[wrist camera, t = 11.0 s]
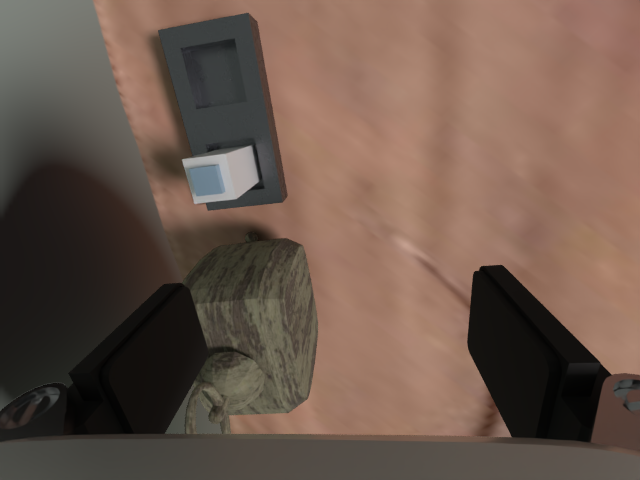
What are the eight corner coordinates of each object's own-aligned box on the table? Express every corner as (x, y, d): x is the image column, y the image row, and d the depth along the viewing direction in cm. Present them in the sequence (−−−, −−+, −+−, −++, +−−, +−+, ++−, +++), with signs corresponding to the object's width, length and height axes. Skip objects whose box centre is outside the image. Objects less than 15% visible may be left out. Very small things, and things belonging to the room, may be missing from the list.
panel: (174, 37, 32) (157, 30, 30) (257, 21, 31) (248, 12, 28) (217, 203, 39) (207, 210, 36) (287, 195, 38) (282, 202, 35)
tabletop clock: (236, 223, 40) (83, 376, 17) (305, 214, 38) (243, 365, 15) (261, 317, 45) (171, 531, 22) (323, 312, 44) (296, 533, 21)
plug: (221, 148, 35) (177, 160, 26) (254, 144, 35) (222, 154, 26) (229, 183, 37) (190, 206, 28) (261, 179, 36) (233, 201, 27)
